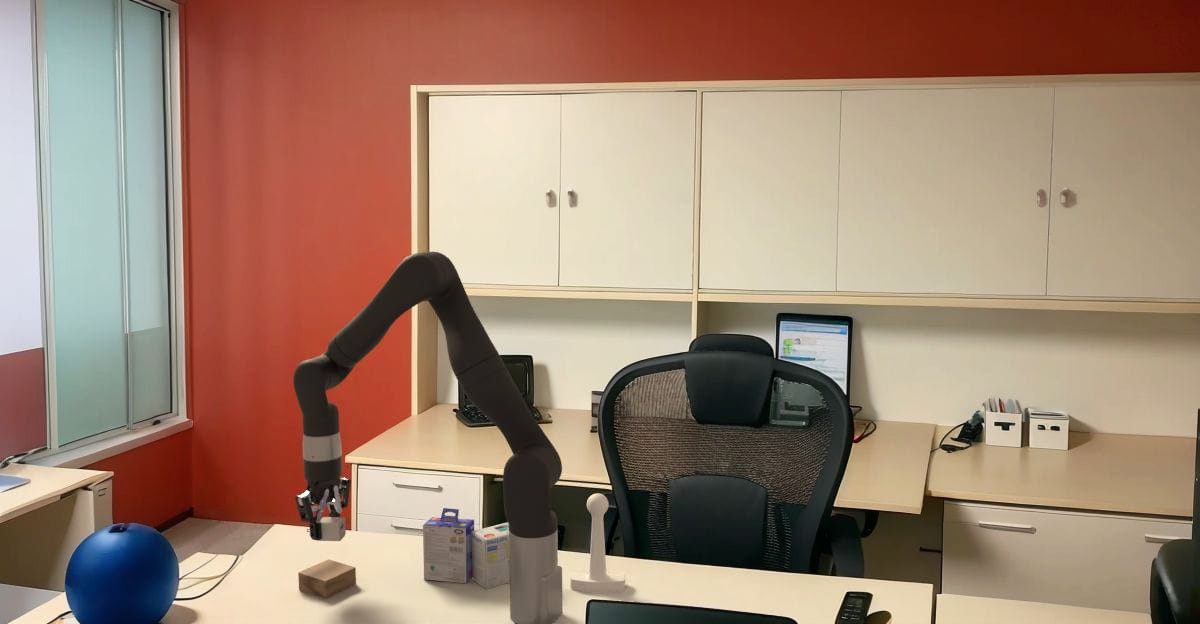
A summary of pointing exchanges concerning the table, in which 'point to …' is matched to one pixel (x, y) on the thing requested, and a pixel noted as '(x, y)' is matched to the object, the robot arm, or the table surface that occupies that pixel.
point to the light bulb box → (491, 555)
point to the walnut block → (327, 578)
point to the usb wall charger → (332, 528)
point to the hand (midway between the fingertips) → (325, 534)
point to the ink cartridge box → (448, 548)
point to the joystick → (597, 555)
